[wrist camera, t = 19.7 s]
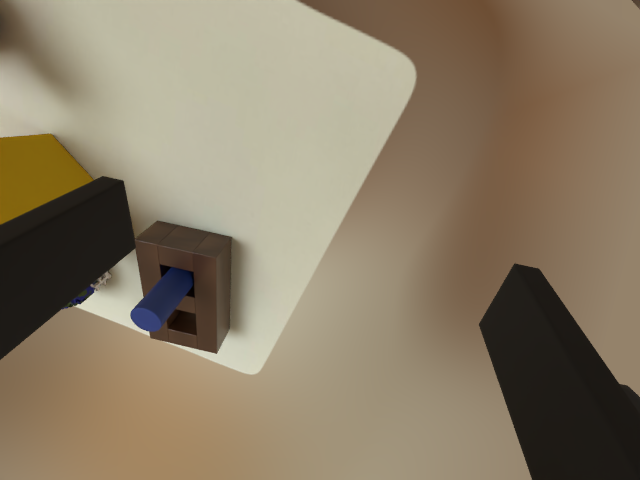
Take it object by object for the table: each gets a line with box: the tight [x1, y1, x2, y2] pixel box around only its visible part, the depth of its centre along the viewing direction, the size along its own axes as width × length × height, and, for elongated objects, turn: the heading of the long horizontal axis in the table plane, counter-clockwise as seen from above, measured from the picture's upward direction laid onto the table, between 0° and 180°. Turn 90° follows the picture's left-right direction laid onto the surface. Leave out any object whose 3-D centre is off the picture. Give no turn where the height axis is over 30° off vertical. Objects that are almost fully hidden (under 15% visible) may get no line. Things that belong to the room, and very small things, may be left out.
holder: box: [135, 221, 232, 354], centre depth 46 cm, size 10×18×5 cm, turn 170°
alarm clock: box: [0, 134, 94, 225], centre depth 35 cm, size 15×8×18 cm, turn 32°
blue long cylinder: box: [131, 267, 194, 332], centre depth 41 cm, size 4×4×12 cm
